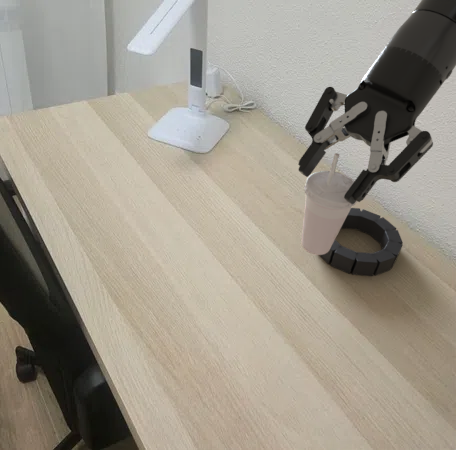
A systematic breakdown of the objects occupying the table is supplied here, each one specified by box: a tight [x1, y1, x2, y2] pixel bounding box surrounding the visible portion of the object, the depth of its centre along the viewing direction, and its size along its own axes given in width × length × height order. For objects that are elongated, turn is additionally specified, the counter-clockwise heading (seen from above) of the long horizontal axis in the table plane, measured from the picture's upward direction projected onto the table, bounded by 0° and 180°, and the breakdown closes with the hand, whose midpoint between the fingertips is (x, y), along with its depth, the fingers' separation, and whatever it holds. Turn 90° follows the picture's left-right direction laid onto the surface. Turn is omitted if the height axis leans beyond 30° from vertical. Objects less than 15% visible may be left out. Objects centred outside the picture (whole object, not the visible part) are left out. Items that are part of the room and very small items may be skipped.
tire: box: [319, 207, 404, 277], centre depth 92 cm, size 14×14×3 cm
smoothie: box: [300, 152, 359, 256], centre depth 67 cm, size 6×6×14 cm
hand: (325, 186), depth 64 cm, fingers closed on smoothie, 6 cm apart
